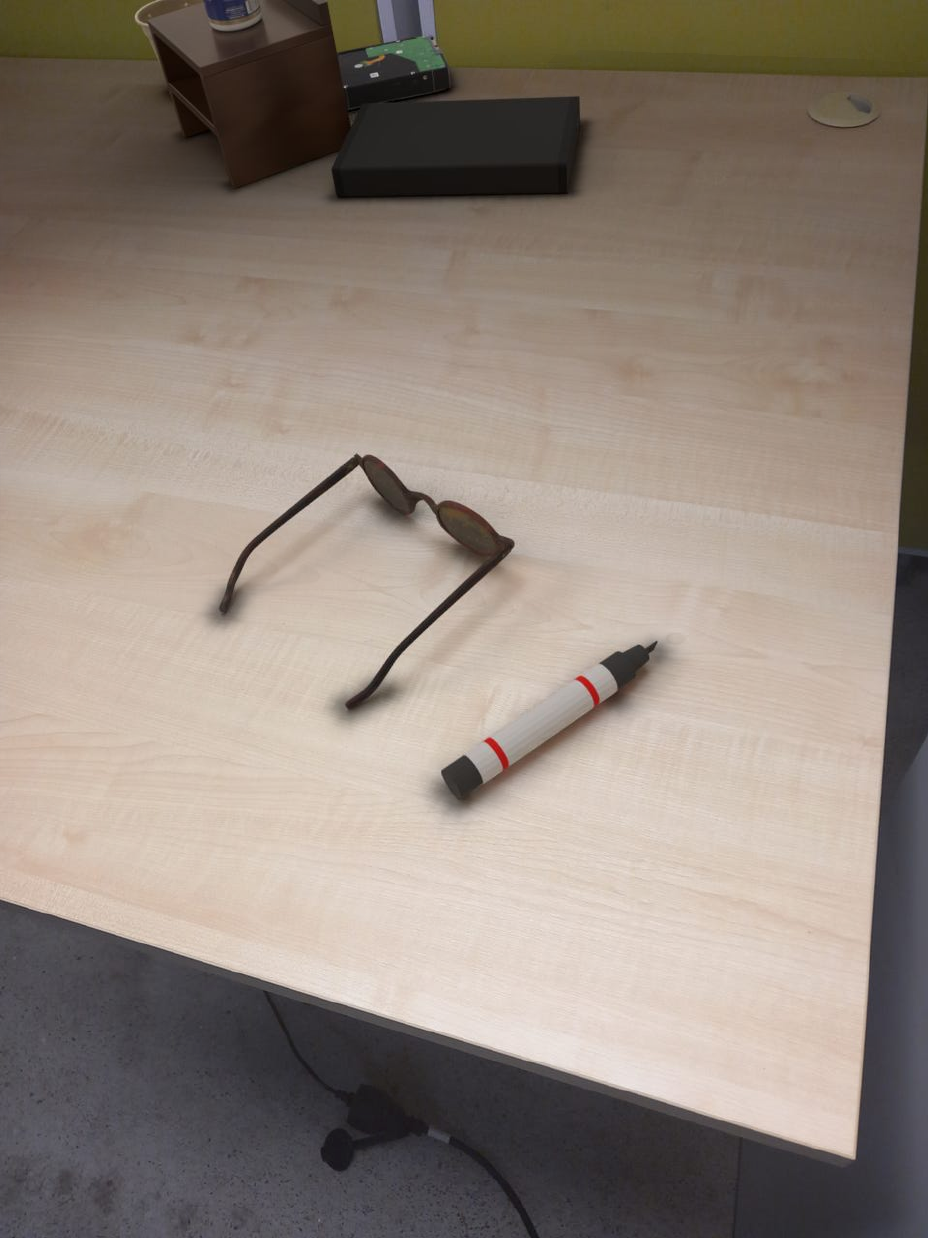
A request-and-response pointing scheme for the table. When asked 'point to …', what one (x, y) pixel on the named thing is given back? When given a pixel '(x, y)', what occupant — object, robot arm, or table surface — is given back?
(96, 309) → the table surface
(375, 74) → the disk drive
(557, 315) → the table surface
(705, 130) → the table surface
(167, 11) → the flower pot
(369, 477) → the eyeglasses
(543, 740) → the marker
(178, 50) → the rack
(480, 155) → the external hard drive
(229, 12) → the pill bottle
